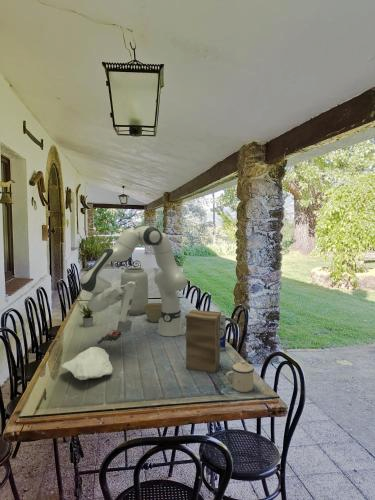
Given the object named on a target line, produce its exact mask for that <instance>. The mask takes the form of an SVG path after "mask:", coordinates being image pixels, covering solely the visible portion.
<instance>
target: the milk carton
mask: <svg viewBox="0 0 375 500" xmlns="http://www.w3.org/2000/svg"><path fill="white" fill-rule="evenodd" d="M226 321H227V315H226V314H221V315H220V352H223V351H224V352H225V351H226V341H227V340H226V337H227V336H226V334H227V333H226V329H227V328H226V327H227V326H226V325H227V324H226Z"/></svg>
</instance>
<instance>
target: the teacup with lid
mask: <svg viewBox="0 0 375 500" xmlns="http://www.w3.org/2000/svg"><path fill="white" fill-rule="evenodd" d="M254 371H255V368H254V366H253V365H252V364H250V363H247V362H246V360H241V361H240V362H236V363H235V364H233V365H232V370H231V371H228V372H226V374H225V380H226V381H227V382H228V383H229V384H232V388H233V389H234V390H235V391H237V392H242V393H248V392H250V391H252V390H253V389H254ZM231 374H232V380H230V379H228V377H229V375H231Z"/></svg>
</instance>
